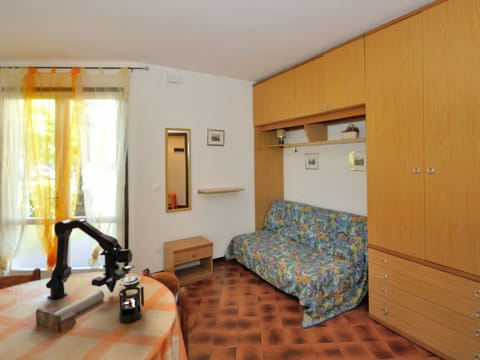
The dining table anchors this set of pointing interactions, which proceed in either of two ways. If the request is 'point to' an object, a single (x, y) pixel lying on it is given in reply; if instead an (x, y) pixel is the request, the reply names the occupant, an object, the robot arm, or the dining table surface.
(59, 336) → the dining table surface
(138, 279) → the french press
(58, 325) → the socket
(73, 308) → the tube
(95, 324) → the dining table surface
